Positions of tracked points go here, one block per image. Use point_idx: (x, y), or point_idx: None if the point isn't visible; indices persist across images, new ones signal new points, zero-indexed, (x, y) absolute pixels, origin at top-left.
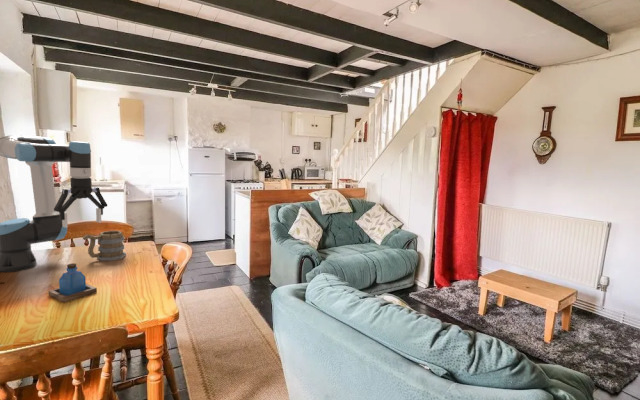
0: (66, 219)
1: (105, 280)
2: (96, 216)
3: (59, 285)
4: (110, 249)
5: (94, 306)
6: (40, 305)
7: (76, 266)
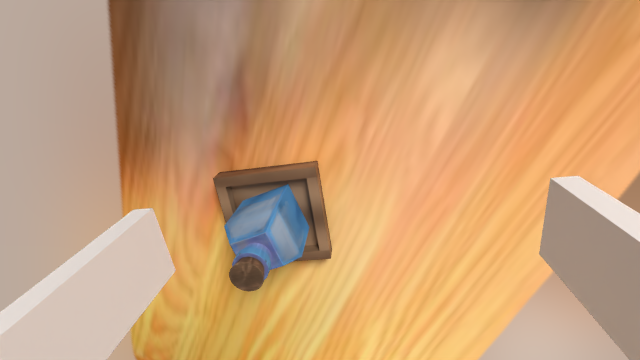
0: (104, 350)
1: (400, 166)
2: (612, 225)
3: (232, 216)
4: None
5: (293, 323)
6: (193, 228)
7: (267, 268)
